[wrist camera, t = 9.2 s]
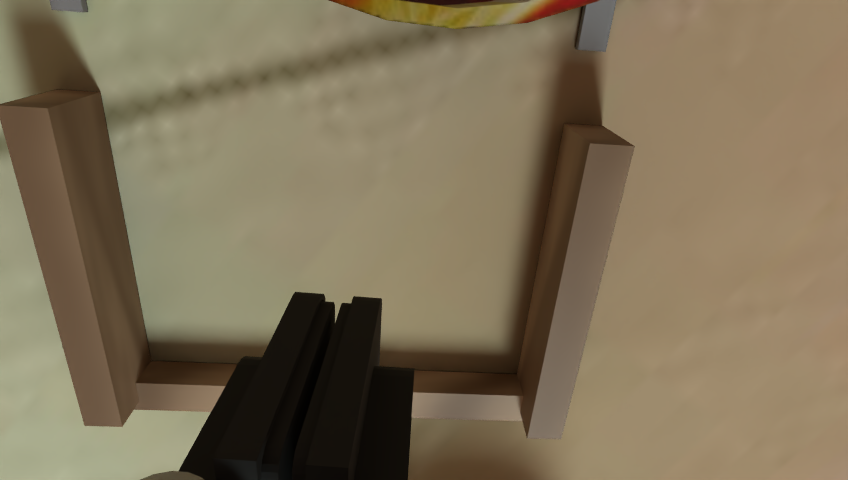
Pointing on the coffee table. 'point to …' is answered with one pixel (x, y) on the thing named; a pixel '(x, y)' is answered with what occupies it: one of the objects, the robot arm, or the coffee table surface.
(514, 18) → the mug
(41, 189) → the frame
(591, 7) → the frame
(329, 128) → the coffee table surface
